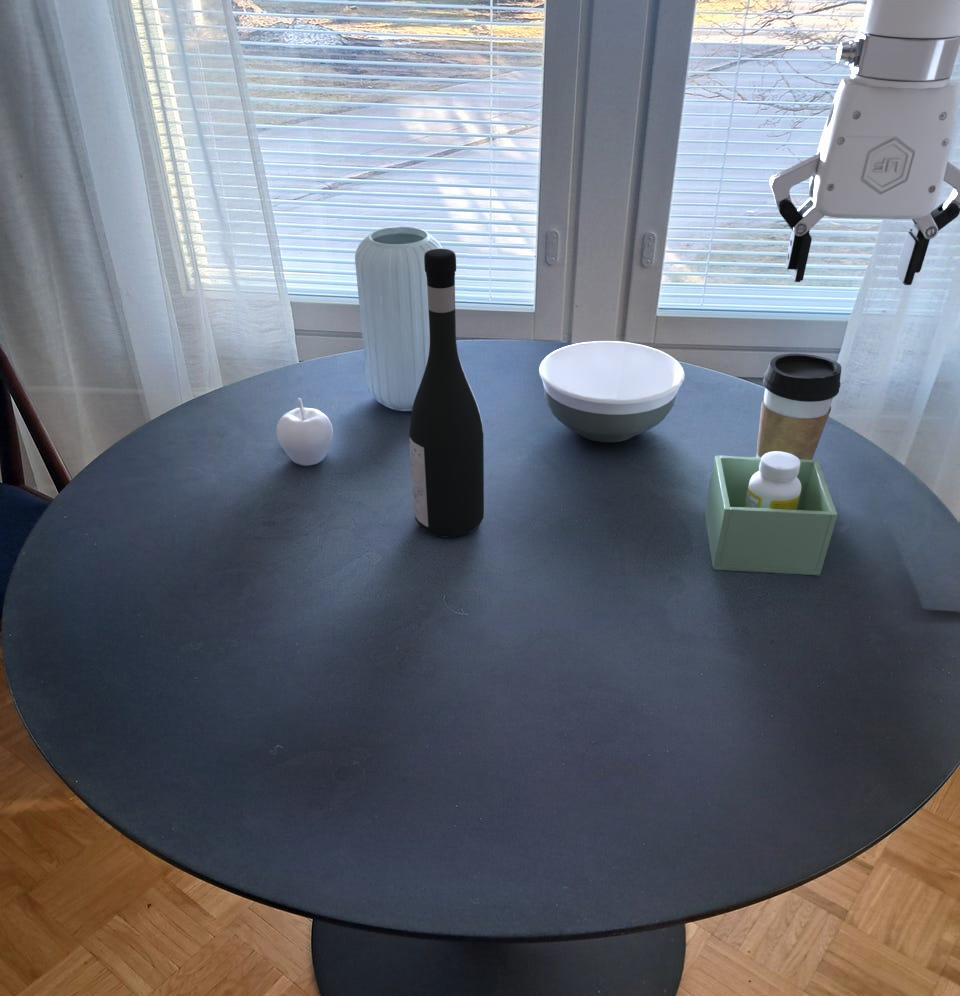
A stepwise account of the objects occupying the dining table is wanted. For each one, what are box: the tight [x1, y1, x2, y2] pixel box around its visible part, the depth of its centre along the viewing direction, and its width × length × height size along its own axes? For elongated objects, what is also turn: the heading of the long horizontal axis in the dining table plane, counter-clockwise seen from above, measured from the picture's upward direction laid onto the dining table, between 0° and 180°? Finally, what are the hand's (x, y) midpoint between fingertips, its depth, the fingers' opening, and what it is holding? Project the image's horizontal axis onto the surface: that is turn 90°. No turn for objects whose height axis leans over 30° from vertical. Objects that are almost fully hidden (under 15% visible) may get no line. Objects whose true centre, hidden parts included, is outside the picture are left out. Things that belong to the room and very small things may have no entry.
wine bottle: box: [408, 248, 485, 538], centre depth 94 cm, size 8×8×30 cm
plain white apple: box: [275, 397, 334, 467], centre depth 113 cm, size 7×7×8 cm
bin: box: [704, 455, 838, 576], centre depth 98 cm, size 11×11×8 cm
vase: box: [354, 225, 443, 412], centre depth 121 cm, size 12×12×22 cm
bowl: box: [538, 340, 686, 443], centre depth 119 cm, size 19×19×8 cm
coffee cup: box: [755, 353, 842, 460], centre depth 106 cm, size 8×8×15 cm
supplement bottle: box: [744, 451, 801, 510], centre depth 97 cm, size 5×5×10 cm
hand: (848, 278), depth 83 cm, fingers open, 9 cm apart
